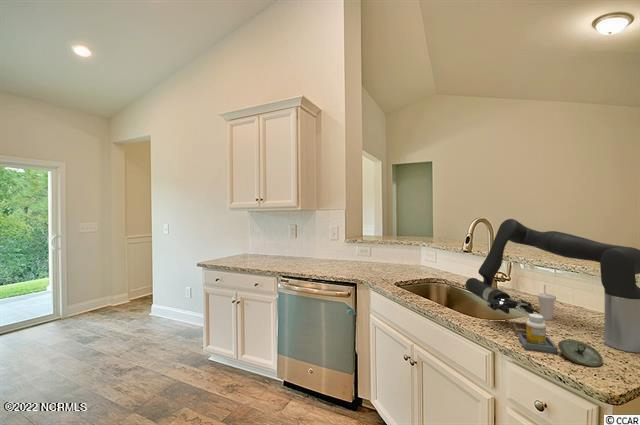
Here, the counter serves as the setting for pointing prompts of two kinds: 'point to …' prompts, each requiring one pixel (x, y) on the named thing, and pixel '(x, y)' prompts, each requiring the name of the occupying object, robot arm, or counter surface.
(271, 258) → the counter surface
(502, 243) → the robot arm
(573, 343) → the lid
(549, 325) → the counter surface
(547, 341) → the tray
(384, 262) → the counter surface
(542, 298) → the smoothie
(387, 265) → the counter surface
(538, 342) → the supplement bottle
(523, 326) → the collar block
